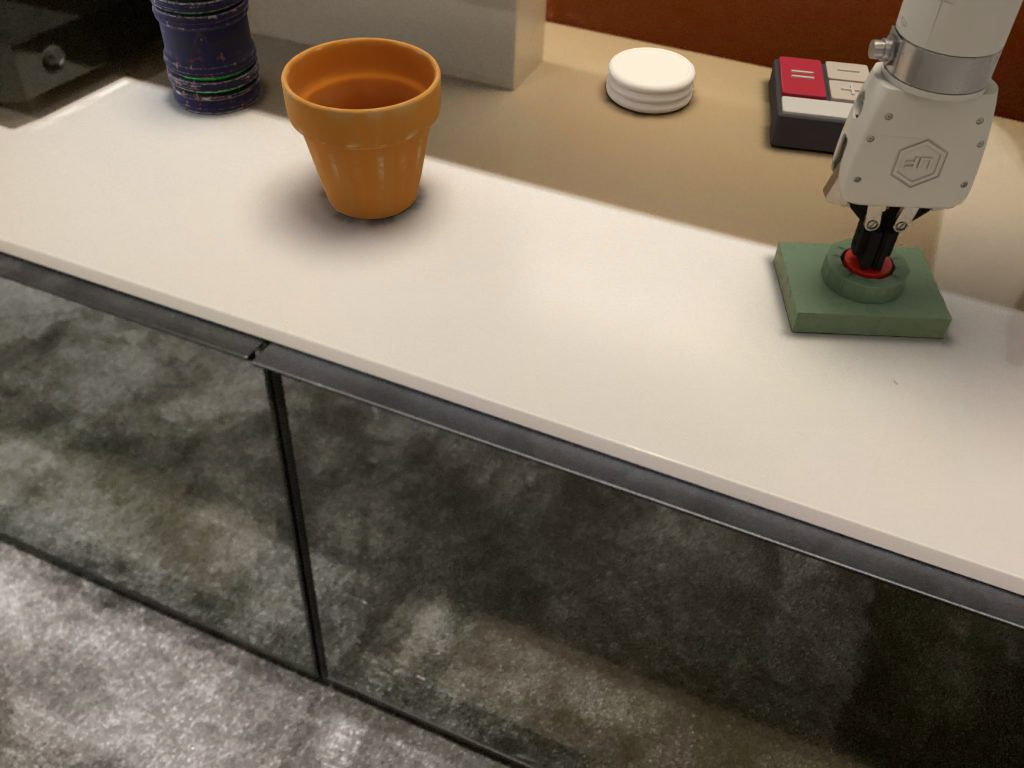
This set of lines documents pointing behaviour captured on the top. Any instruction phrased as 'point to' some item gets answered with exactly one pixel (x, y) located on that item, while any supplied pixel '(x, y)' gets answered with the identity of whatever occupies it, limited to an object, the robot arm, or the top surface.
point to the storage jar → (209, 54)
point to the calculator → (812, 101)
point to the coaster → (650, 80)
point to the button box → (859, 293)
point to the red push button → (853, 267)
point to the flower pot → (365, 119)
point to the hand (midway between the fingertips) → (866, 260)
